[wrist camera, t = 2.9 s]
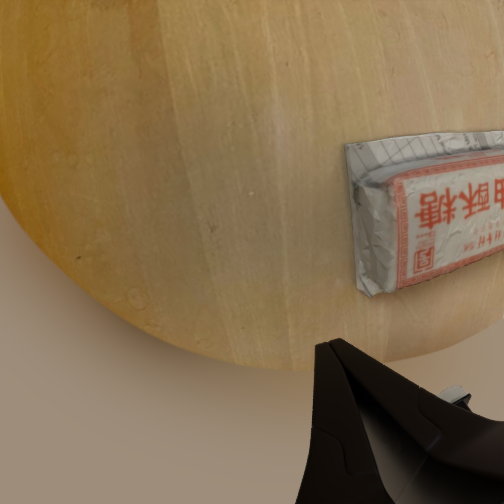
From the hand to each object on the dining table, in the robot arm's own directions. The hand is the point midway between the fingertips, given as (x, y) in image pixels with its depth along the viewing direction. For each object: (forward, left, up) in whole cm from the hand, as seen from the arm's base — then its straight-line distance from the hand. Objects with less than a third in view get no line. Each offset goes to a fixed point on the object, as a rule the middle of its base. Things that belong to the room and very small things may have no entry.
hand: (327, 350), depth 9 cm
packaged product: (0, -14, -10) cm, 17 cm away
